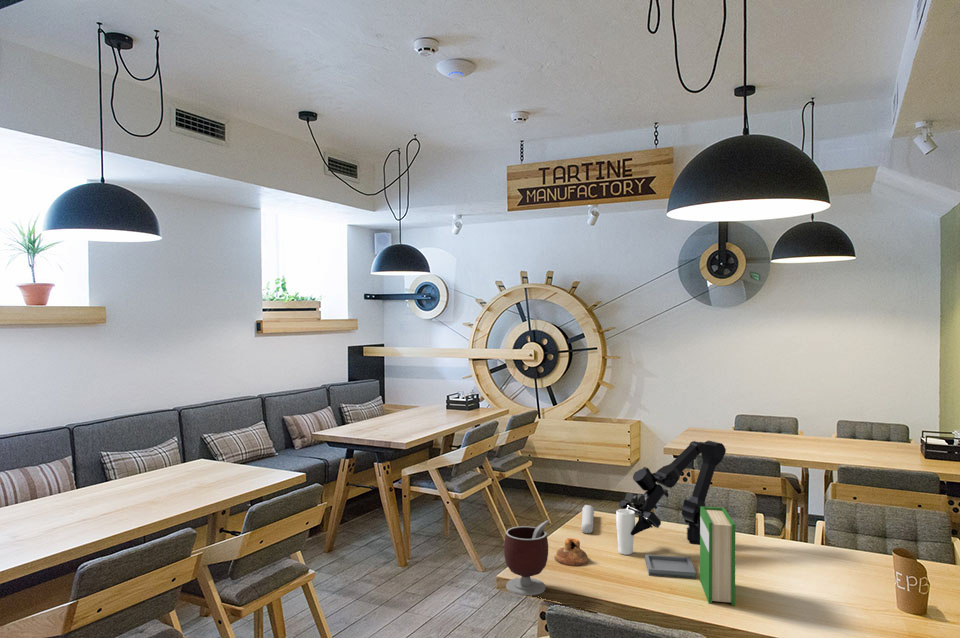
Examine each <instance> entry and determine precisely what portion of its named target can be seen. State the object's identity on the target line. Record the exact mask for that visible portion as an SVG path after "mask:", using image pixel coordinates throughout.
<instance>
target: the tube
mask: <svg viewBox="0 0 960 638" xmlns="http://www.w3.org/2000/svg"><path fill="white" fill-rule="evenodd" d="M581 511H582V512H581V524H580V525H581V527H580V528H581V529H580V530H581V532H583V533H584V534H585V533H586V534H587V533H590V534H592V532H593V531H594V515H595V507H593V506H592V505H591V504H584V506H583V507H582V510H581Z"/></svg>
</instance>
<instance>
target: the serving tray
mask: <svg viewBox="0 0 960 638" xmlns="http://www.w3.org/2000/svg"><path fill="white" fill-rule="evenodd" d="M644 561H645V565H646V569H647V574H648V576H654V577H668V578H679V579H680V578H681V579H692V580H696V579H697V571H696V569H695V567H694V564H693V562H692V560H691V558H690V557H689V556H676V555H675V556H673V555H659V554H648V553H645V555H644Z"/></svg>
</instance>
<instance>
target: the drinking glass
mask: <svg viewBox="0 0 960 638" xmlns="http://www.w3.org/2000/svg"><path fill="white" fill-rule="evenodd" d="M615 511H616V512H615V525H616V527H615V528H616V539H617V552H618V553H619V554H620V555H625V556H630V555H632V554H633V553H634V540H635V538H634V537H635V535H631V531H632V530H633V528H634V526H635V525H636V514H635V512H634V511H633V510H629V509H622V508H620V509H616V510H615Z"/></svg>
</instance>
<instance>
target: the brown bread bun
mask: <svg viewBox="0 0 960 638" xmlns="http://www.w3.org/2000/svg"><path fill="white" fill-rule="evenodd" d="M580 547H581V542H580V540H579V539H577V538H573V537H572V538H571V537H570V538H566V539H565V540H564V547H560V548H559V549H558V550H556V552H555V554H554V556H553V557H554V561H556V562H557V563H558V564H560V565H563V566H569V567H570V566H571V567H579V566H583V565H585V564H587V563H588V561H589V557H588V554H587V553H586V552H585V551H584V550H583V549H581V548H580Z"/></svg>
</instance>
